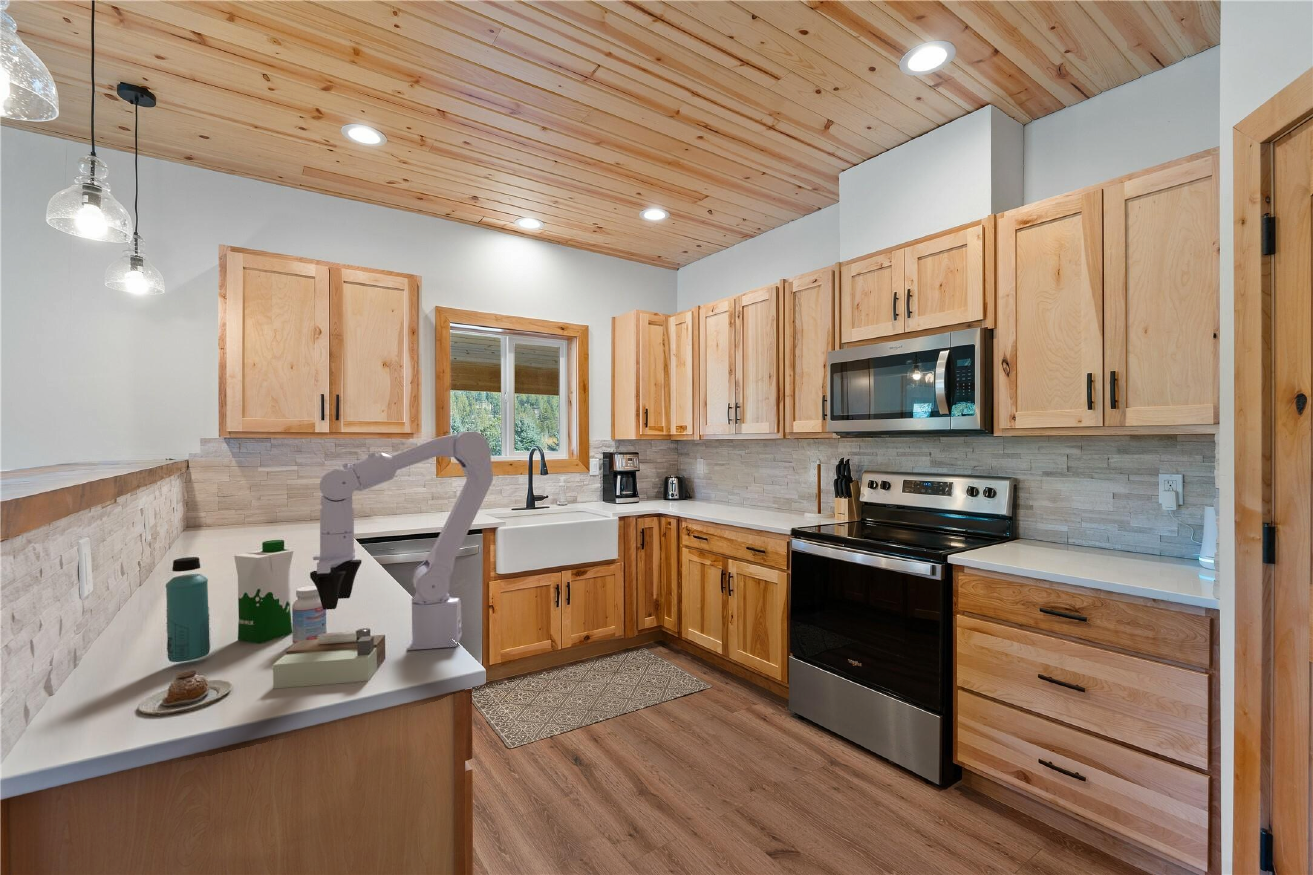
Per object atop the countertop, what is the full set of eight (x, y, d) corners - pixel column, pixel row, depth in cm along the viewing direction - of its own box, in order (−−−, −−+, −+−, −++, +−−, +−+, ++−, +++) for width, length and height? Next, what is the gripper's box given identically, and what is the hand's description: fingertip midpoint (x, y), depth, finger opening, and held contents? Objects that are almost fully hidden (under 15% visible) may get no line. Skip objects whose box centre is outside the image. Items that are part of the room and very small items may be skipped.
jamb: (385, 658, 113) (385, 634, 113) (377, 669, 108) (376, 644, 108) (299, 664, 110) (299, 640, 110) (286, 676, 105) (286, 651, 105)
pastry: (246, 683, 103) (246, 657, 103) (206, 715, 91) (205, 685, 91) (169, 689, 101) (169, 662, 101) (118, 723, 89) (117, 692, 89)
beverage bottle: (219, 659, 114) (217, 555, 114) (181, 672, 107) (179, 562, 107) (195, 656, 116) (193, 553, 116) (157, 668, 109) (155, 560, 109)
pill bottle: (311, 648, 119) (310, 592, 119) (285, 646, 120) (284, 591, 120) (333, 638, 125) (332, 584, 125) (308, 636, 126) (307, 583, 126)
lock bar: (372, 637, 111) (372, 627, 111) (368, 641, 108) (368, 631, 108) (321, 640, 109) (321, 631, 109) (316, 645, 107) (316, 635, 107)
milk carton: (299, 632, 129) (297, 540, 129) (257, 646, 121) (256, 548, 121) (271, 628, 132) (270, 538, 132) (229, 641, 124) (227, 545, 124)
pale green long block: (377, 669, 107) (376, 633, 107) (368, 680, 102) (368, 643, 102) (286, 676, 105) (285, 639, 105) (273, 688, 100) (272, 649, 100)
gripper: (328, 527, 120) (328, 594, 120) (298, 538, 106) (298, 615, 105) (366, 526, 121) (365, 593, 121) (341, 537, 107) (340, 613, 107)
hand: (336, 603), depth 113 cm, fingers open, 7 cm apart
